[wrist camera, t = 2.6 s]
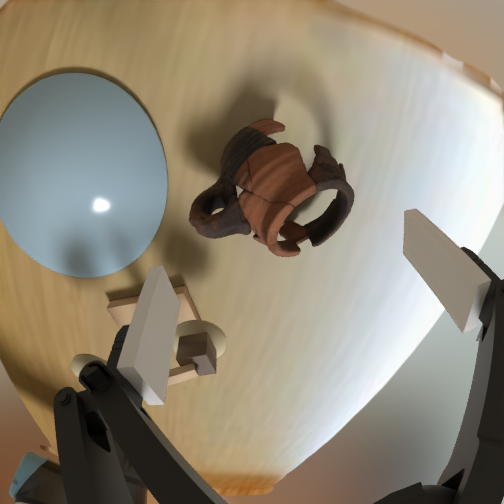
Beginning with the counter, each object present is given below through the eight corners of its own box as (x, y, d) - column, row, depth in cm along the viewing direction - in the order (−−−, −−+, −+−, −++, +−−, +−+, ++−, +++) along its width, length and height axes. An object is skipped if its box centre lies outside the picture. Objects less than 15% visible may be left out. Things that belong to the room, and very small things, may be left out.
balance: (106, 336, 33) (81, 414, 23) (86, 306, 30) (51, 385, 20) (231, 315, 32) (234, 407, 22) (218, 278, 29) (215, 373, 20)
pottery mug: (300, 96, 22) (370, 149, 17) (306, 177, 30) (357, 234, 25) (157, 156, 20) (191, 233, 16) (197, 230, 28) (231, 302, 24)
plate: (41, 289, 29) (39, 292, 28) (-28, 132, 18) (-31, 133, 18) (198, 250, 28) (197, 253, 27) (131, 34, 17) (129, 33, 17)
